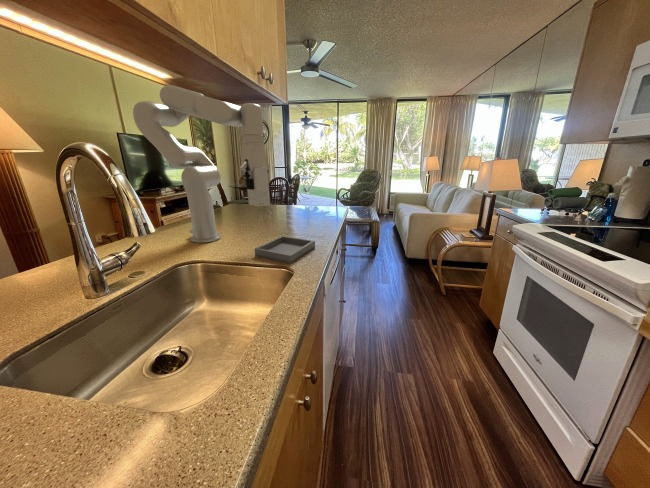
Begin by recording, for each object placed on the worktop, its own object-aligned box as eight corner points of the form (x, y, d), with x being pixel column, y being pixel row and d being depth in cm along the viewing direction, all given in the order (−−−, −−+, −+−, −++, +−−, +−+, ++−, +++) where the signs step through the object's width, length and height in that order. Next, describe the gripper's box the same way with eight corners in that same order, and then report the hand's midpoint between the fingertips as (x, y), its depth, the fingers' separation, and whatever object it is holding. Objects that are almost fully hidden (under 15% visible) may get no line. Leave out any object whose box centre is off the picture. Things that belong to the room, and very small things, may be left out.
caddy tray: (255, 256, 99) (254, 248, 98) (282, 242, 115) (282, 235, 114) (290, 263, 93) (290, 255, 92) (315, 247, 108) (315, 240, 107)
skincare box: (270, 205, 106) (269, 167, 102) (257, 207, 102) (254, 167, 98) (260, 202, 112) (258, 166, 108) (247, 204, 108) (244, 166, 104)
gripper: (260, 141, 109) (263, 185, 114) (229, 139, 94) (234, 190, 100) (275, 141, 105) (278, 186, 111) (245, 139, 91) (249, 191, 97)
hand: (257, 187), depth 105 cm, fingers closed on skincare box, 7 cm apart
